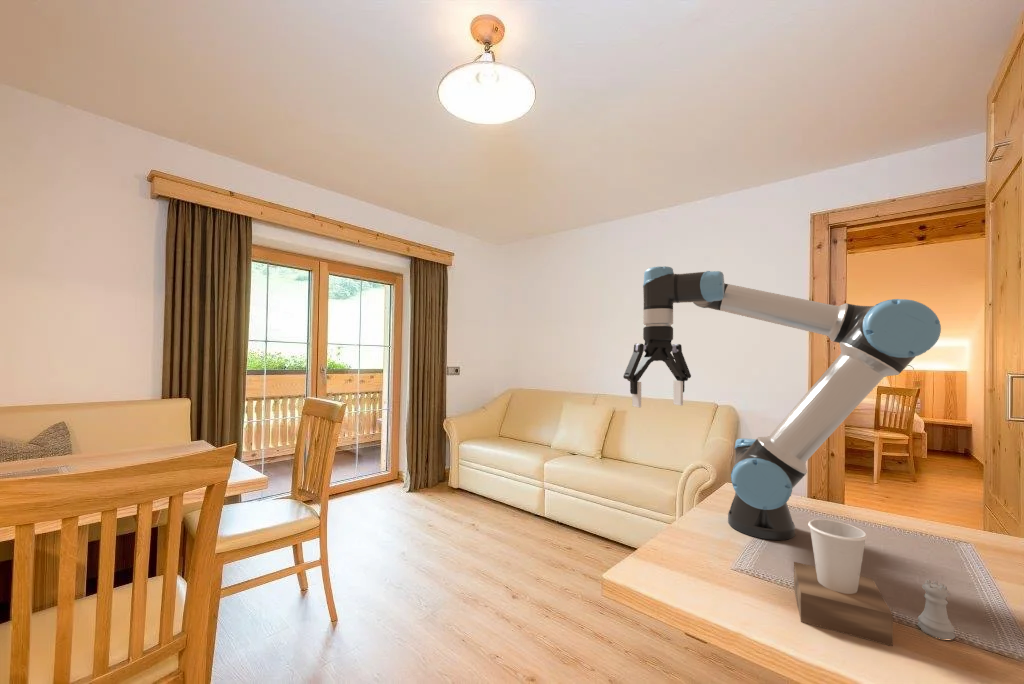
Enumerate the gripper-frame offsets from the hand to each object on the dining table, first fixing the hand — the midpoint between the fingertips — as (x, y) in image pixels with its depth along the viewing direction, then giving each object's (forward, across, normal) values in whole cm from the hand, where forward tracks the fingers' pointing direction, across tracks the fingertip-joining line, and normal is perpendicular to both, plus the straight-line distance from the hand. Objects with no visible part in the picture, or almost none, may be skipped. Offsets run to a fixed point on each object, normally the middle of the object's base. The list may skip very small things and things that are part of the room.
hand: (657, 405), depth 112 cm
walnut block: (+32, -5, +41) cm, 52 cm away
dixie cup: (+27, -5, +41) cm, 49 cm away
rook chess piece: (+32, -15, +50) cm, 61 cm away
